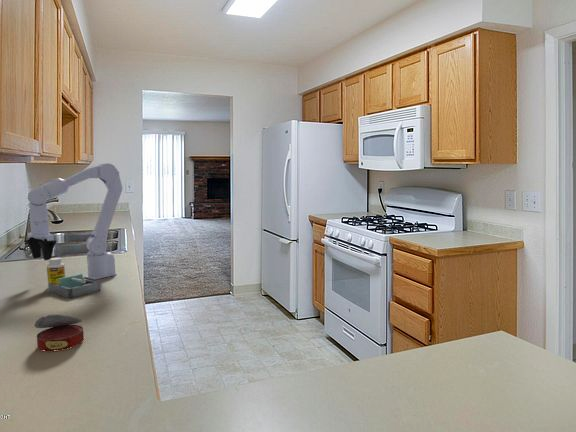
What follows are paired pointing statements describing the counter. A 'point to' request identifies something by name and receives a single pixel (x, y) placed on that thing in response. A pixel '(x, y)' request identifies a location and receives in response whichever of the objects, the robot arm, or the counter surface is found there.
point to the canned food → (58, 332)
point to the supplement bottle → (55, 270)
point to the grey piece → (75, 289)
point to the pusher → (72, 281)
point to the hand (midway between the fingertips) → (42, 258)
